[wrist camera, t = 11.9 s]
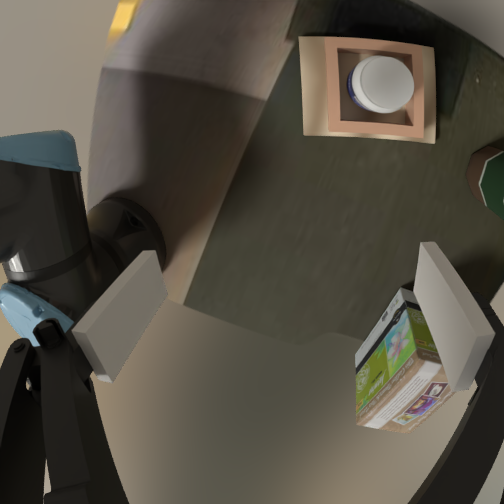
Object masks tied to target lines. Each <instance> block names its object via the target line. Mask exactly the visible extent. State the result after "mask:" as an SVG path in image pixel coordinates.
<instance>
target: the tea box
mask: <svg viewBox="0 0 504 504" xmlns="http://www.w3.org/2000/svg"><path fill="white" fill-rule="evenodd" d="M355 358H356V361H355V362H356V403H357V404H356V422H357V425H361V426H366V427H371V428H377V429H383V430H388V431H396V432H402V433H408V434H409V433H411V432H412V431H413V430H414V429H415V428H416V427H418V426H419V425H420V424H421V423H422V422H424V421H425V420H426V419H427V418H428V417H429V416H431V415H432V414H433V413H434V412H435V411H436V410H437V409H439V408H440V407H441V406H442V405H443V404H444V403H445V402H446V401H447V400H448V399H449V398H450V397H451V396H452V395H453V394H454V393H455V392H452V391H451V388H450V385H449V382H448V379H447V376H446V373H445V370H444V367H443V364H442V361H441V359H440V356H439V353H438V350H437V348H436V345H435V342H434V340H433V337H432V335H431V332H430V330H429V327H428V325H427V322H426V320H425V317H424V315H423V313H422V310H421V308H420V305H419V303H418V301H417V299H416V296H415V294H414V292H412V291H410V290H407V289H404V288H402V287H400V289H399V291H398V292H397V294H396V295H395V297H394V298H393V300H392V301H391V303H390V305H389V306H388V308H387V309H386V311H385V312H384V314H383V315H382V317H381V318H380V320H379V321H378V323H377V324H376V326H375V327H374V328H373V330H372V331H371V333H370V334H369V336H368V337H367V339H366V340H365V341H364V343H363V344H362V346H361V347H360V349H359V350H358V352H357V353H356V354H355Z"/></svg>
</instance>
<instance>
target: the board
mask: <svg viewBox="0 0 504 504" xmlns="http://www.w3.org/2000/svg"><path fill="white" fill-rule="evenodd" d="M324 38H325V37H299V49H300V64H301V81H302V101H303V126H304V135H314V136H348V137H367V138H382V139H394V140H405V141H415V142H424V143H432V144H435V132H436V79H435V60H434V48H432V47H427V46H422V59H423V78H424V137H423V138H415V137H405V136H395V135H383V134H368V133H350V132H329V130H328V110H327V84H326V65H325V50H324ZM345 38H349V37H345ZM362 39H364V38H362ZM374 40H376V39H374ZM384 41H385V40H384ZM392 42H394V41H392ZM400 43H401V42H400ZM407 44H408V43H407ZM414 45H415V44H414ZM420 46H421V45H420ZM371 56H379V55H368V54H353V53H338V69H339V90H340V119H346V120H365V121H379V122H391V123H402V124H405V105H404V106H403V107H401V108H400V109H399V110H397V111H394V112H391V113H377V112H373V111H368V110H365V109H363V108H361V107H359V106H358V105H356V104H355V103H354V102H353V101H352V99H351V98H350V96H349V94H348V91H347V87H346V82H347V77H348V75H349V73H350V72H351V70H352V69H353V68H354V67H355V66H356V65H357V64H358V63H359V62H361V61H362V60H364V59H365V58H368V57H371ZM385 57H389V56H385ZM392 58H395V59H397V60H399V61H400V62H402V63H403V64H404V58H397V57H392Z"/></svg>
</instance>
